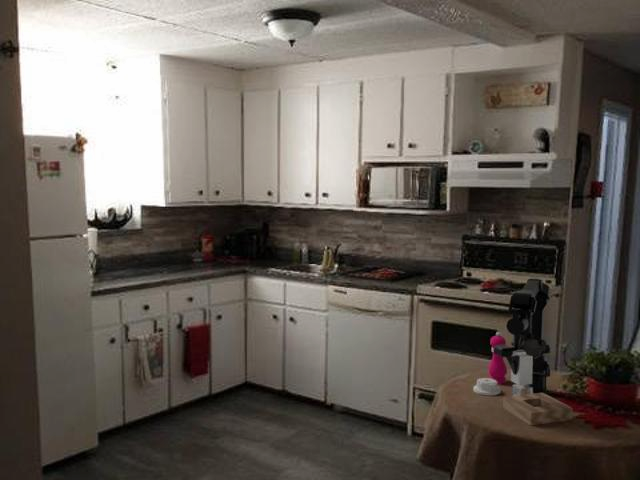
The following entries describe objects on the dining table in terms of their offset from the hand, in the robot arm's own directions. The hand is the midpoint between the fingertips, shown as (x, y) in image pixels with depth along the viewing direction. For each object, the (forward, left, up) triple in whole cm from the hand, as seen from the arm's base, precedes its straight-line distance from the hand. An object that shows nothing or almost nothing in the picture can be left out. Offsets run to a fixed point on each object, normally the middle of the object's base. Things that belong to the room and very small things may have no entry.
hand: (521, 373), depth 208 cm
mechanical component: (0, -22, -14) cm, 25 cm away
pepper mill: (-10, -31, -13) cm, 35 cm away
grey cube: (-7, -10, -13) cm, 18 cm away
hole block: (-3, +4, -13) cm, 14 cm away
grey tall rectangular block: (0, 0, -3) cm, 3 cm away
